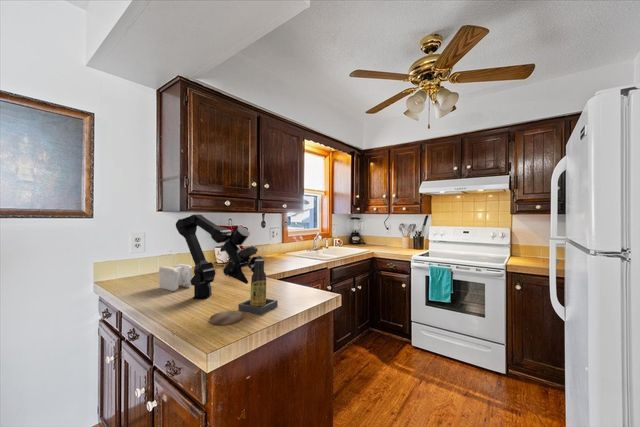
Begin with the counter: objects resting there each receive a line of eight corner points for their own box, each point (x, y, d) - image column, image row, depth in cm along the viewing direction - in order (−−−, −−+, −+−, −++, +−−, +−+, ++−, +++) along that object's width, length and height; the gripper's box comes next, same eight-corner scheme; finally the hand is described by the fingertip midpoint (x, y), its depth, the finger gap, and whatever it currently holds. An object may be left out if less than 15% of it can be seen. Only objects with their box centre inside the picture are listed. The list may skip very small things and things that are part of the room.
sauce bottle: (252, 312, 109) (252, 261, 109) (248, 307, 114) (248, 259, 114) (268, 309, 112) (268, 260, 112) (264, 304, 117) (264, 258, 117)
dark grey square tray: (238, 310, 111) (238, 304, 111) (256, 302, 120) (256, 296, 120) (260, 315, 106) (260, 308, 106) (277, 306, 115) (277, 300, 115)
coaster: (204, 325, 96) (204, 323, 96) (216, 312, 108) (216, 310, 108) (238, 325, 96) (238, 323, 96) (247, 312, 108) (247, 310, 108)
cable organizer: (193, 287, 143) (193, 265, 143) (173, 293, 134) (173, 269, 134) (177, 283, 151) (177, 262, 151) (157, 288, 142) (157, 266, 142)
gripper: (228, 241, 108) (250, 272, 103) (259, 237, 124) (279, 264, 119) (214, 260, 111) (234, 291, 106) (246, 254, 128) (265, 280, 123)
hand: (255, 280), depth 114 cm, fingers open, 9 cm apart
